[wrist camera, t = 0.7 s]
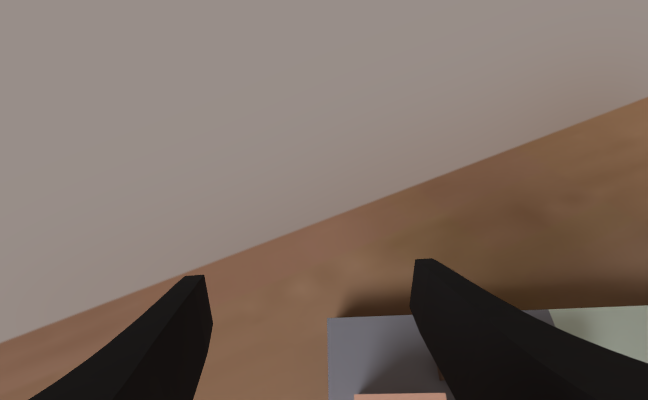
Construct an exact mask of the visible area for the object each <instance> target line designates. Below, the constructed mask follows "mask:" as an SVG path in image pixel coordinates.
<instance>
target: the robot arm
mask: <svg viewBox="0 0 648 400" xmlns="http://www.w3.org/2000/svg"><path fill="white" fill-rule="evenodd" d="M410 309H411V312H412V314H413V317H414V320H415V322H416V325H417V327H418V330H419V332H420V334H421V336H422V338H423V340H424V342H425V344H426V346H427V348H428V350H429V351H430V353H431V355H432V357H433V359H434V361H435V363H436V364H437V366H438V368H439V370H440V372H441V374H442V376H443V377H444V379H445V381H446V383H447V385H448V387H449V388H450V390H451V392H452V394H453V396H454V398H455V400H648V363H646V362H643V361H640V360H637V359H634V358H631V357H628V356H626V355H623V354H620V353H617V352H615V351H612V350H609V349H607V348H604V347H602V346H599V345H597V344H594V343H592V342H589V341H587V340H584V339H582V338H579V337H577V336H575V335H572V334H570V333H568V332H565V331H563V330H561V329H558V328H556V327H554V326H552V325H550V324H548V323H546V322H544V321H542V320H539V319H537V318H535V317H533V316H531V315H529V314H527V313H525V312H523V311H521V310H519V309H518V308H516V307H514V306H512V305H510V304H508V303H507V302H505V301H503V300H501V299H499V298H498V297H496V296H494V295H492V294H491V293H489V292H487V291H485V290H484V289H482V288H480V287H479V286H477V285H476V284H474V283H472V282H471V281H469V280H467V279H466V278H464V277H462V276H461V275H459V274H458V273H456V272H454V271H453V270H451V269H450V268H448V267H446V266H445V265H443V264H441V263H440V262H438V261H436V260H434V259H432V258H431V259H417V260H415V266H414V274H413V282H412V290H411V298H410ZM212 326H213V321H212V315H211V310H210V304H209V299H208V293H207V288H206V282H205V277H204V275H194V276H185V277H183V278H182V279H181V280H180V281H179V282H178V283H177V284H175V285H174V286H173V287H172V288H171V289H170V290H169V291H168V292H167V293H166V294H165V295H164V296H162V297H161V298H160V299H159V300H158V301H157V302H156V303H155V304H154V305H153V306H151V307H150V308H149V309H148V310H147V311H146V312H145V313H144V314H143V315H142V316H140V317H139V318H138V319H137V320H136V321H135V322H133V323H132V324H131V325H130V326H129V327H127V328H126V329H125V330H124V331H123V332H121V333H120V334H119V335H118V336H117V337H115V338H114V339H113V340H112V341H111V342H109V343H108V344H107V345H106V346H104V347H103V348H102V349H101V350H99V351H98V352H97V353H95V354H94V355H93V356H91V357H90V358H89V359H87V360H86V361H85V362H83V363H82V364H81V365H79V366H78V367H76V368H75V369H74V370H72V371H71V372H69V373H68V374H67V375H65V376H64V377H62V378H61V379H59V380H58V381H57V382H55V383H54V384H52V385H50V386H49V387H47V388H46V389H44V390H43V391H41V392H40V393H38V394H37V395H35V396H34V397H32V398H30V399H29V400H193V398H194V395H195V392H196V388H197V385H198V382H199V379H200V376H201V373H202V369H203V366H204V363H205V360H206V356H207V353H208V348H209V343H210V338H211V332H212Z"/></svg>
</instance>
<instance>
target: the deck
mask: <svg viewBox="0 0 648 400" xmlns="http://www.w3.org/2000/svg"><path fill="white" fill-rule="evenodd" d="M521 311H523V312H525V313H527V314H529V315H531V316H533V317H535V318H537V319H539V320H542V321H544V322H546V323H548V324H550V325H552V326H554V327H556V328H558V329H561V330H563V331H565V332H568V333H570V334H572V335H575V336H577V337H579V338H582V339H584V340H587V341H589V342H592V343H594V344H597V345H599V346H602V347H604V348H607V349H609V350H612V351H615V352H617V353H620V354H623V355H626V356H628V357H631V358H634V359H637V360H640V361H643V362H646V363H648V305H646V306H621V307H596V308H571V309H546V310H521ZM327 331H328V388H329V400H354V394H404V393H445V394H446V399H447V400H455V398H454V396H453V394H452V392H451V390H450V388H449V387H448V385H447V383H446V381H445V380H443V381H440V380H439V374H438V369H437V364H436V363H435V361H434V359H433V357H432V355H431V353H430V351H429V350H428V348H427V346H426V344H425V342H424V340H423V338H422V336H421V334H420V332H419V330H418V327H417V325H416V322H415V320H414V317H413V315H395V316H370V317H344V318H327Z"/></svg>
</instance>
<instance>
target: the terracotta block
mask: <svg viewBox="0 0 648 400" xmlns="http://www.w3.org/2000/svg"><path fill="white" fill-rule="evenodd" d="M354 400H447V399H446V394H445V393H404V394H354Z"/></svg>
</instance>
